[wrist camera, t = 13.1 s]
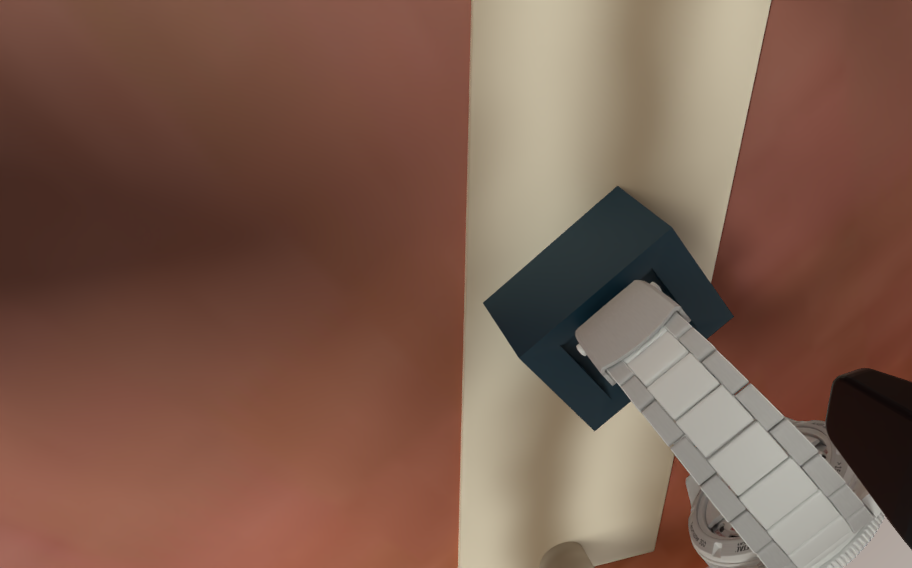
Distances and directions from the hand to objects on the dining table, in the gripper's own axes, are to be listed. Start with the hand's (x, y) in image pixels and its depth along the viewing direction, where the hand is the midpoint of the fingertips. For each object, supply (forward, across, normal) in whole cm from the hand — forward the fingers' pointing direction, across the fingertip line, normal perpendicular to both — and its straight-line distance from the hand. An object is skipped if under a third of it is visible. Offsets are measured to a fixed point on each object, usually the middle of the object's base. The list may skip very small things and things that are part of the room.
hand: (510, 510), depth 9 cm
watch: (+13, -7, +6) cm, 16 cm away
